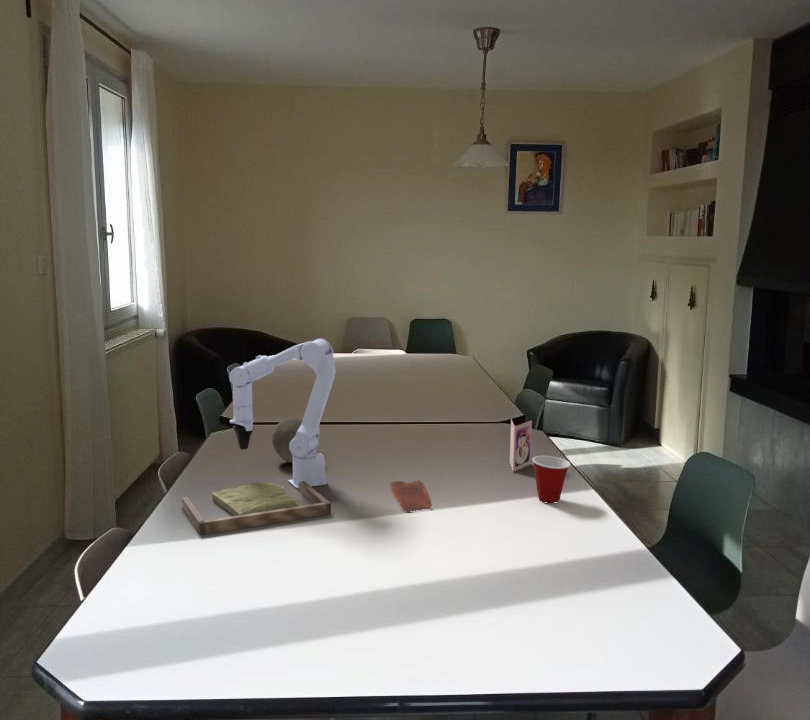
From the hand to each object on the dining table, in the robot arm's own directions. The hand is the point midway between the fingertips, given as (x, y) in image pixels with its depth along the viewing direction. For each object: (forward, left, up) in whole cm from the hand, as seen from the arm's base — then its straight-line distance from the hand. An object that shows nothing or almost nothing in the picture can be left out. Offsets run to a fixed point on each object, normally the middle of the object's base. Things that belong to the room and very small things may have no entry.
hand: (243, 448), depth 239 cm
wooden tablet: (-39, +37, -10) cm, 55 cm away
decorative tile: (+3, +24, -10) cm, 26 cm away
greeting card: (-83, +25, -10) cm, 87 cm away
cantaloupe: (-19, -9, -10) cm, 23 cm away
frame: (+5, +30, -9) cm, 32 cm away
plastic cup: (-73, +57, -10) cm, 93 cm away
